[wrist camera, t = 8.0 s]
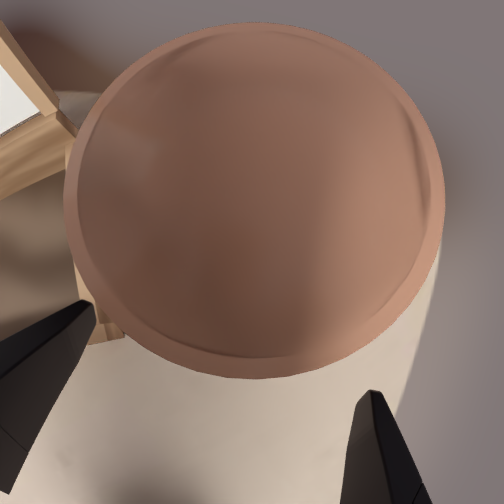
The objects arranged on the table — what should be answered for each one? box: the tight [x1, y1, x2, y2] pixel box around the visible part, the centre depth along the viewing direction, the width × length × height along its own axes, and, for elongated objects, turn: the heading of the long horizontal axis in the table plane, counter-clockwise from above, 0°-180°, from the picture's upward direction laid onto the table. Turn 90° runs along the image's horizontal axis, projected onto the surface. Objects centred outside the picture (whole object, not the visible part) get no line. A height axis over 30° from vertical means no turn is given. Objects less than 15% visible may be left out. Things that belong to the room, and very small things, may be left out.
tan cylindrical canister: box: [63, 22, 445, 379], centre depth 12 cm, size 7×7×14 cm
